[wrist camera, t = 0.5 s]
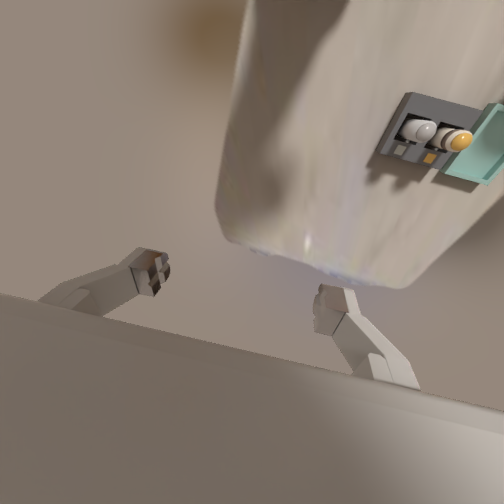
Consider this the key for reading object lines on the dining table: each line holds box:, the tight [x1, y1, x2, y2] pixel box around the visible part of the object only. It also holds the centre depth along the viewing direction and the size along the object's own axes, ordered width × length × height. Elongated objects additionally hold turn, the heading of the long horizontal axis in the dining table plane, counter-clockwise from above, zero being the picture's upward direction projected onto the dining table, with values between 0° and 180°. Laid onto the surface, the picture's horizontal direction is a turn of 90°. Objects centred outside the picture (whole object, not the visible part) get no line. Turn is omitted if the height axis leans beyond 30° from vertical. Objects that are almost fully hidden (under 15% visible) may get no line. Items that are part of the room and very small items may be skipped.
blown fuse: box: [427, 127, 473, 152], centre depth 38 cm, size 3×3×9 cm
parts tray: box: [440, 103, 504, 185], centre depth 40 cm, size 12×9×2 cm
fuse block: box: [376, 92, 483, 170], centre depth 40 cm, size 10×12×3 cm
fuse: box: [396, 119, 437, 143], centre depth 38 cm, size 3×3×9 cm
